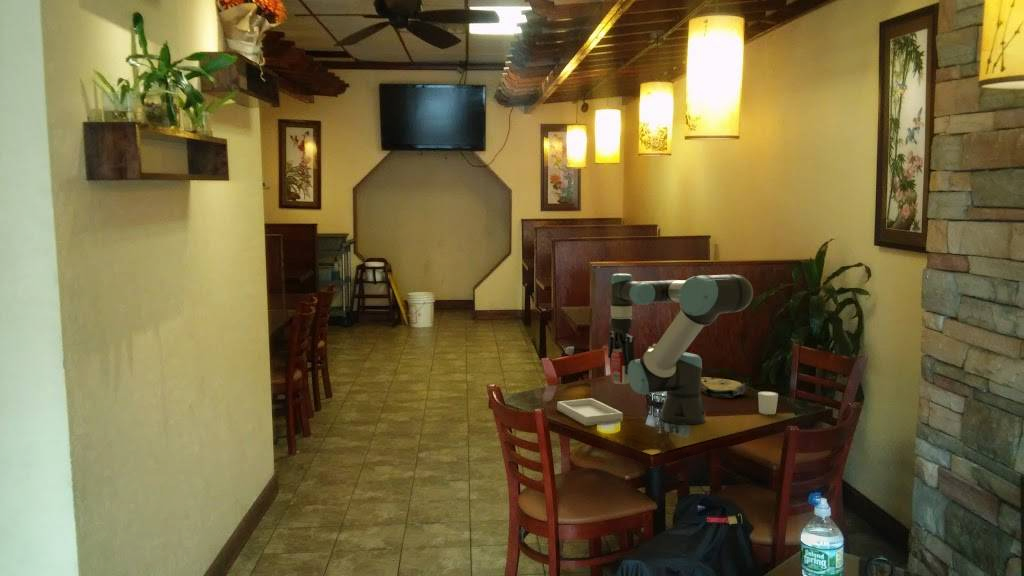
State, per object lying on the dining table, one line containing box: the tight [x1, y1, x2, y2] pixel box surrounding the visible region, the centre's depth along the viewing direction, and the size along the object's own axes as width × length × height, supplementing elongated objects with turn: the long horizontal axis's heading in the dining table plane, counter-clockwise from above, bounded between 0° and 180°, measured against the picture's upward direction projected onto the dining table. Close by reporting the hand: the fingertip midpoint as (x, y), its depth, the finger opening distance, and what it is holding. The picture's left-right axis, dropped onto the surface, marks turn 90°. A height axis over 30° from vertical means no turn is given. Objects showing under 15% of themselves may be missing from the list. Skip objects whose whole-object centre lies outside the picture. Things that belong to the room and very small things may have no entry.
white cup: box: [757, 390, 779, 416], centre depth 295 cm, size 7×7×7 cm
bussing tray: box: [556, 397, 624, 427], centre depth 290 cm, size 22×14×3 cm, turn 23°
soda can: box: [610, 348, 628, 385], centre depth 296 cm, size 7×7×12 cm
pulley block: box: [701, 376, 754, 399], centre depth 328 cm, size 14×6×30 cm
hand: (620, 380), depth 297 cm, fingers closed on soda can, 7 cm apart
